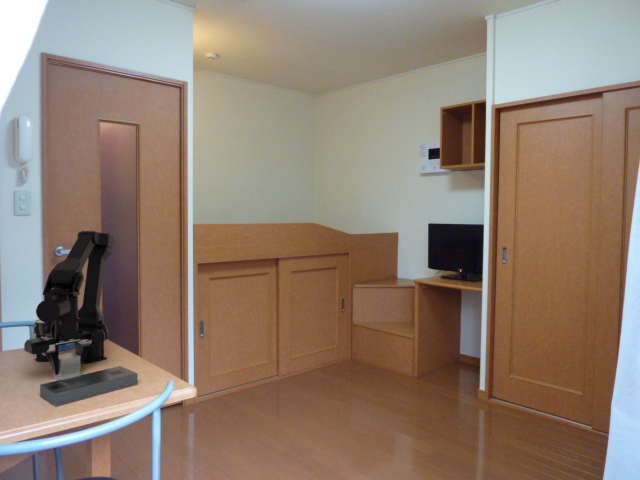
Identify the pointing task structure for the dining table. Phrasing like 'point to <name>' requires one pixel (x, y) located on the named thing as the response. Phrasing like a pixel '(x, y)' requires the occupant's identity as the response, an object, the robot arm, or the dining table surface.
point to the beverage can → (41, 356)
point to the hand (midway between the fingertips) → (66, 372)
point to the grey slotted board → (87, 385)
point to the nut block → (68, 366)
